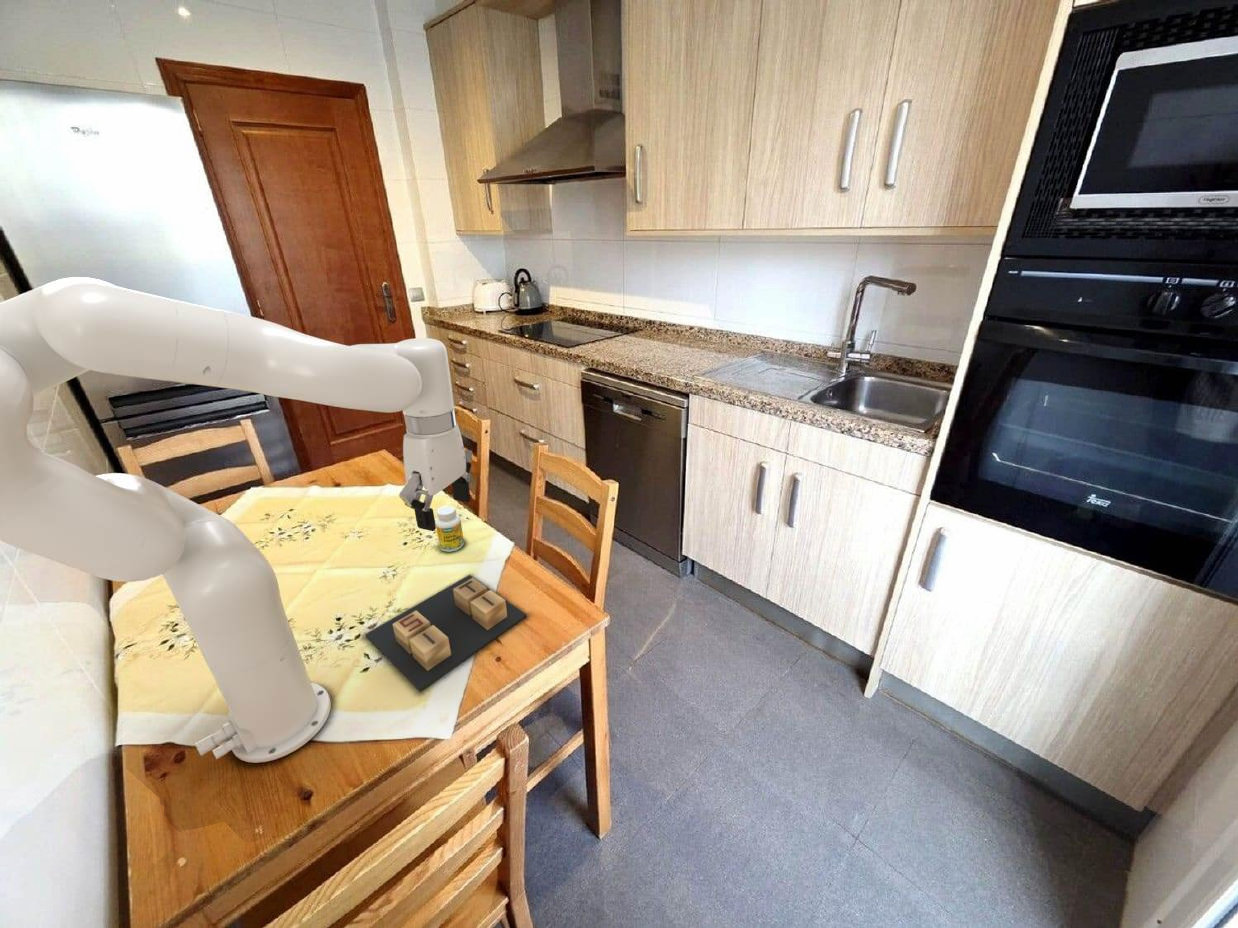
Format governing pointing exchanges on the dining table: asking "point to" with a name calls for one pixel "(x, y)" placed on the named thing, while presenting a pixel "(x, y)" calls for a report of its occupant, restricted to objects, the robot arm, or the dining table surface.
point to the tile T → (468, 594)
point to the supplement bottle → (449, 529)
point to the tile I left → (430, 647)
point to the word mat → (452, 623)
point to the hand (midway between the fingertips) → (445, 513)
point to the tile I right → (488, 609)
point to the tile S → (409, 629)
